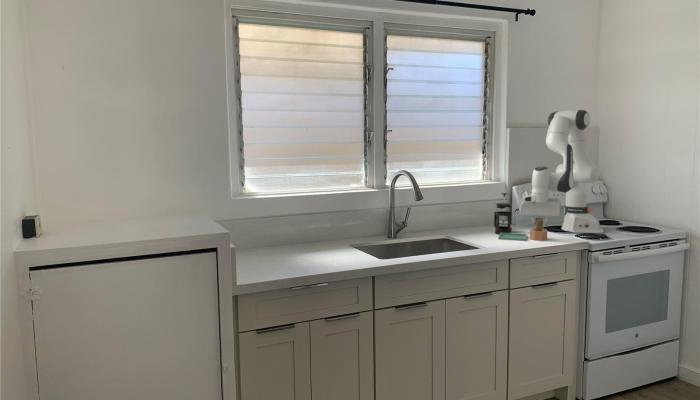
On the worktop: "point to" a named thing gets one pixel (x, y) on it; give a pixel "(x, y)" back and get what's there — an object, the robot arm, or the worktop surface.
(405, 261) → the worktop surface
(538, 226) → the dowel
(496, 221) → the french press
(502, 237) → the tray
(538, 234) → the cup
